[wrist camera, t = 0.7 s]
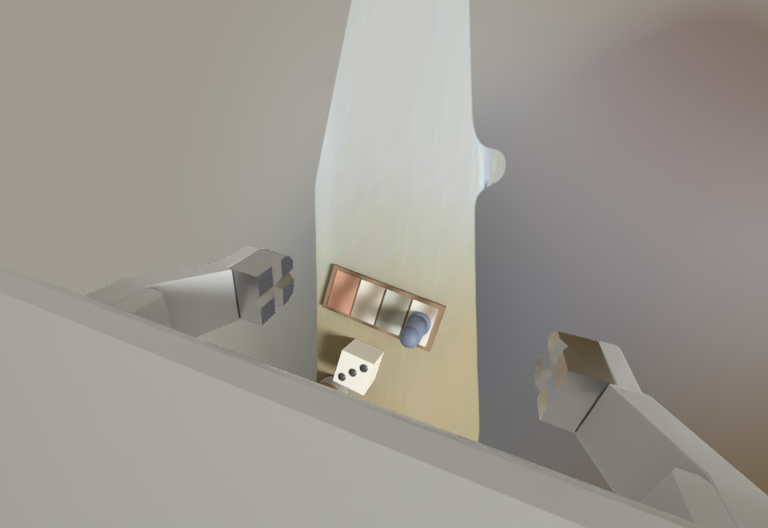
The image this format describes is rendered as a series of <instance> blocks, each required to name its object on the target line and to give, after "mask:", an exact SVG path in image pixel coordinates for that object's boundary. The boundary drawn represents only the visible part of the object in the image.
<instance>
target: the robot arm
mask: <svg viewBox="0 0 768 528" xmlns="http://www.w3.org/2000/svg"><path fill="white" fill-rule="evenodd" d="M292 269H293V260H292V258H291V257H290V256H287V255H284V254H280V253H277V252H273V251H270V250H267V249H263V248H260V247H256V246H252V245H247V246H246V247H244V248H242V249H240V250H238V251H237V252H235V253H233V254H231V255H229V256H228V257H226V258H224V259H222V260H220V261H219V262H217V263H215V264H211V263H208V264H201V265H196V266H190V267H184V268H178V269H172V270H167V271H162V272H155V273H149V274H143V275H138V276H132V277H127V278H123V279H120V280H118V281H116V282H114V283H112V284H110V285H108V286H105V287H103V288H101V289H99V290H97V291H95V292H93V293H90V294H88V295H86V296H83V295H80V294H77V293H75V292H72V291H69V290H66V289H64V288H61V287H58V286H56V285H53V284H50V283H47V282H45V281H42V280H40V279H37V278H34V277H32V276H29V275H26V274H24V273H21V272H18V271H15V270H13V269H10V268H7V267H5V266H2V265H0V528H768V496H767V495H766V494H765V493H763V492H762V491H761V490H760V489H759V488H757V487H756V486H755V485H754V484H753V483H751V481H749V480H748V479H747V478H746V477H745V476H743V475H742V474H741V473H740V472H739V471H738V470H736V469H735V468H734V467H733V466H732V465H731V464H729V463H728V462H727V461H726V460H724V459H723V458H722V457H721V456H720V455H718V453H716V452H715V451H714V450H713V449H712V448H711V447H709V446H708V445H707V444H706V443H705V442H703V441H702V440H701V439H700V438H699V437H698V436H696V435H695V434H694V433H693V432H692V431H691V430H689V429H688V428H687V427H686V426H685V425H683V424H682V423H681V422H680V421H679V420H678V419H676V418H675V417H674V416H673V415H671V414H670V413H669V412H668V411H667V410H666V409H664V408H663V407H662V406H661V405H660V404H659V403H657V402H656V401H655V400H654V399H653V398H652V397H650V396H649V395H646V394H643V393H642V392H641V390H640V388H639V386H638V384H637V382H636V380H635V378H634V376H633V374H632V372H631V370H630V367H629V366H628V363H627V361H626V359H625V357H624V355H623V353H622V351H621V349H620V348H619V347H618V346H616V345H613V344H609V343H605V342H600V341H596V340H591V339H588V338H584V337H579V336H576V335H572V334H568V333H564V332H560V331H556V330H554V331H553V332H552V333H551V334H550V336H549V338H548V340H547V343H548V350H546V351H544V352H542V353H541V355H540V357H539V359H538V361H537V365H536V369H535V386H536V387H537V388H538V390H539V391H540V394H539V396H538V398H537V403H538V411H539V418H540V420H541V421H544V422H546V423H549V424H552V425H555V426H558V427H560V428H563V429H565V430H569V431H571V432H574V433H575V436H576V437H577V438H578V440H579V441H580V443H581V444H582V446H583V447H584V449H585V450H586V452H587V453H588V455H589V456H590V458H591V459H592V461H593V462H594V464H595V465H596V466H597V468H598V469H599V471H600V472H601V474H602V475H603V477H604V478H605V480H606V481H607V483H608V484H609V486H610V487H611V489H612V490H613V491H614V493H612V492H610V491H607V490H604V489H601V488H599V487H596V486H593V485H591V484H588V483H585V482H582V481H580V480H577V479H575V478H572V477H569V476H566V475H564V474H561V473H558V472H556V471H553V470H550V469H548V468H545V467H542V466H540V465H537V464H534V463H532V462H529V461H526V460H523V459H521V458H518V457H515V456H513V455H510V454H507V453H505V452H502V451H499V450H497V449H494V448H491V447H489V446H486V445H483V444H480V443H478V442H475V441H472V440H470V439H467V438H464V437H462V436H459V435H456V434H454V433H451V432H448V431H446V430H443V429H440V428H438V427H435V426H432V425H429V424H427V423H424V422H421V421H419V420H416V419H413V418H411V417H408V416H405V415H403V414H400V413H397V412H395V411H392V410H389V409H387V408H384V407H381V406H378V405H376V404H373V403H370V402H368V401H365V400H362V399H360V398H357V397H354V396H352V395H349V394H346V393H344V392H341V391H338V390H336V389H333V388H330V387H328V386H325V385H322V384H319V383H317V382H314V381H311V380H309V379H306V378H303V377H301V376H298V375H295V374H293V373H290V372H287V371H284V370H282V369H279V368H276V367H274V366H271V365H268V364H265V363H263V362H260V361H257V360H255V359H252V358H249V357H246V356H244V355H241V354H238V353H236V352H233V351H230V350H227V349H225V348H222V347H219V346H217V345H214V344H211V343H209V342H206V341H203V340H201V339H198V338H196V337H198V336H200V335H203V334H205V333H208V332H210V331H212V330H215V329H217V328H220V327H222V326H225V325H227V324H230V323H232V322H234V321H237V320H239V318H240V319H243V320H246V321H250V322H253V323H256V324H259V325H263V324H264V323H265V322H267V321H268V320H269V319H270V318H271V317H272V316H273V315H274V314H275V308H277V307H281V306H284V305H285V304H286V303H287V302H288V301H289V299H290V297H291V295H292V293H293V289H294V279H293V278H292V276H291V275H290V272H291V271H292Z"/></svg>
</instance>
